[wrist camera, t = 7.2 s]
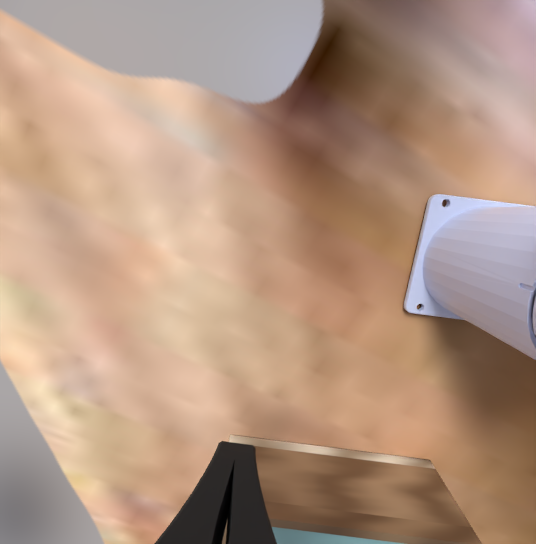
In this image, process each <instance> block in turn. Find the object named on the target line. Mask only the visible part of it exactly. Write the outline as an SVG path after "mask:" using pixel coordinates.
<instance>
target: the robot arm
mask: <svg viewBox="0 0 536 544" xmlns="http://www.w3.org/2000/svg"><path fill="white" fill-rule="evenodd" d="M443 200H446V201H447V204H446V206H445V207H443V206H442V202H443ZM419 304H421V308H420V309H417V305H419ZM404 309H405V310H406V311H408V312H409V313H414V314H422V315H429V316H437V317H445V318H453V319H461V320H466V321H468V322H470V323H472V324H473V325H475V326H477V327H479V328H480V329H482V330H484V331H486V332H487V333H489V334H491V335H493V336H494V337H496V338H498V339H499V340H501V341H503V342H505V343H506V344H508V345H510V346H512V347H513V348H515V349H517V350H519V351H520V352H522V353H524V354H526V355H527V356H529V357H531V358H533V359H534V360H536V206H528V205H520V204H513V203H505V202H497V201H489V200H481V199H474V198H466V197H458V196H450V195H443V194H436V195H432V196H431V197H430V198H429V200H428V202H427V207H426V211H425V215H424V220H423V224H422V228H421V232H420V237H419V241H418V245H417V250H416V254H415V258H414V262H413V267H412V271H411V275H410V279H409V284H408V288H407V292H406V297H405V301H404ZM226 523H227V532H226V544H277V542H276V539H275V536H274V533H273V530H272V527H271V523H270V520H269V517H268V513H267V510H266V506H265V502H264V498H263V494H262V490H261V486H260V481H259V476H258V470H257V463H256V448H255V447H254V446H253V445H248V444H240V443H233V442H225V441H222V442H220V443H219V444H218V447H217V449H216V452H215V454H214V456H213V458H212V460H211V462H210V464H209V465H208V467H207V469H206V471H205V473H204V474H203V476H202V478H201V479H200V481H199V482H198V484H197V486H196V487H195V489H194V491H193V492H192V494H191V495H190V497H189V498H188V500H187V501H186V502H185V504H184V505H183V507H182V508H181V510H180V511H179V513H178V514H177V515H176V517H175V518H174V519H173V521H172V522H171V523H170V525H169V526H168V527H167V529H166V530H165V531H164V533H163V534H162V535H161V536H160V538H159V539H158V540H157V541H156V543H155V544H222V540H223V536H224V532H225V527H226Z"/></svg>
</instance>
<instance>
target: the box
mask: <svg viewBox="0 0 536 544" xmlns="http://www.w3.org/2000/svg"><path fill="white" fill-rule="evenodd" d="M229 442H233V443H240V444H248V445H253V446H254V447H255V448H256V463H257V470H258V476H259V481H260V486H261V490H262V494H263V498H264V502H265V506H266V510H267V513H268V517H269V520H270V523H271V527H277V528H285V529H293V530H301V531H309V532H317V533H325V534H332V535H340V536H348V537H356V538H364V539H372V540H380V541H388V542H396V543H404V544H482V543H481V542H480V540H479V538H478V537H477V535H476V533H475V532H474V530H473V529H472V527H471V525H470V524H469V522H468V521H467V519H466V517H465V516H464V514H463V513H462V511H461V509H460V508H459V506H458V504H457V503H456V501H455V500H454V498H453V496H452V495H451V493H450V492H449V490H448V488H447V487H446V485H445V484H444V482H443V480H442V479H441V477H440V476H439V474H438V472H437V471H436V469H435V467H434V466H433V464H432V463H431V461H430V460H425V459H418V458H410V457H402V456H394V455H386V454H378V453H370V452H362V451H354V450H347V449H339V448H331V447H323V446H315V445H307V444H299V443H291V442H283V441H276V440H268V439H260V438H252V437H244V436H236V435H230V438H229ZM226 532H227V523H226V527H225V532H224V536H223V540H222V544H226Z"/></svg>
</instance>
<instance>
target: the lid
mask: <svg viewBox="0 0 536 544" xmlns="http://www.w3.org/2000/svg"><path fill="white" fill-rule="evenodd" d="M272 530H273V533H274V536H275V539H276V542H277V544H404V543H396V542H388V541H380V540H372V539H364V538H356V537H348V536H340V535H332V534H325V533H317V532H309V531H301V530H293V529H285V528H277V527H272Z"/></svg>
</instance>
